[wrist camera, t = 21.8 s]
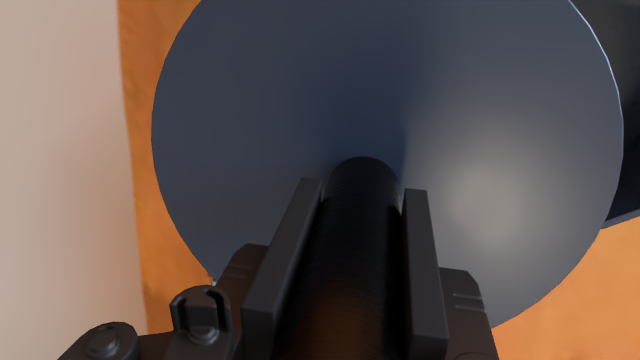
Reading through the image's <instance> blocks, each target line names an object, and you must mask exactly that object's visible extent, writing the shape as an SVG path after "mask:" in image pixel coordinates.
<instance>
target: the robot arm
mask: <svg viewBox="0 0 640 360" xmlns="http://www.w3.org/2000/svg"><path fill="white" fill-rule="evenodd" d="M321 193H322V179H314V178H304V177H302V178H301V180H300V182H299V184H298V186H297V188H296V190H295V192H294V195H293V197H292V199H291V201H290V203H289V205H288V207H287V209H286V211H285V213H284V216H283V218H282V220H281V222H280V224H279V226H278V228H277V230H276V232H275V235H274V237H273V239H272V241H271V243H270V245H269V246H265V245H258V244H250V243H246V244H245V245H244V246H242V247H241V248H240V249H238V250H237V251H236V252H234V254H233V256H232V257H231V259H230V261H229V263H228V265H227V266H226V268H225V269H224V271H223V273H222V276H220V278H219V279H218V281H217V283H216V285H215V286H212V285H200V286H194V287H192V288H189V289H186V290H184V291H183V292H181V293H180V294H178V295H177V296H175V298H174V299H173V300H172V302H171V303H170V304H169V306H170V311H171V317H172V322H173V327H174V330H173V331H170V332H165V333H159V334H151V335H142V336H137V333H136V331H135V329H134V328H133V326H131V325H129V324H127V323H125V322H110V323H106V324H101V325H99V326H97V327H95V328H93V329H90V330H89V331H88V332H86V333H85V334H84V335H82V336H81V337H80V338H79V339H78V340H77V341H76V342H75V343H74V344H73V345H72V346H71V347H70V348H69V349H68V350H67V351H65V352H64V353H63V355H62V356H60V357H59V359H57V360H269V359H270V356H271V353H272V350H273V347H274V344H275V341H276V338H277V335H278V332H279V329H280V326H281V323H282V319H283V316H284V313H285V310H286V307H287V304H288V301H289V298H290V295H291V292H292V289H293V286H294V283H295V280H296V277H297V274H298V271H299V268H300V265H301V262H302V259H303V256H304V253H305V250H306V247H307V244H308V241H309V238H310V235H311V232H312V229H313V226H314V223H315V220H316V217H317V214H318V211H319V208H320V205H321ZM401 247H402V283H403V319H404V356H405V360H499V357H498V353H497V350H496V346H495V343H494V339H493V335H492V332H491V328H490V325H489V321H488V317H487V314H486V313H485V307H484V303H483V301H482V296H481V292H480V289H479V285H478V283H477V282H476V281H475V279H474V278H473V277H472V276H471V275H470V273H469V272H468V271H466V270H459V269H451V268H443V267H439V266H438V260H437V253H436V247H435V240H434V234H433V227H432V221H431V214H430V208H429V201H428V195H427V190H419V189H410V188H405V191H404V198H403V205H402V212H401Z"/></svg>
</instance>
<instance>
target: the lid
mask: <svg viewBox="0 0 640 360" xmlns="http://www.w3.org/2000/svg"><path fill="white" fill-rule="evenodd" d="M151 142H152V151H153V160H154V168H155V172H156V176H157V180H158V184H159V188H160V192H161V194H162V197H163V200H164V202H165V205H166V208H167V210H168V213H169V215H170V217H171V219H172V221H173V223H174V225H175V227H176V229H177V230H178V232H179V234H180V236H181V237H182V239H183V240H184V242H185V243H186V245H187V246H188V248H189V249H190V251H191V252H192V254H193V255H194V256H195V257H196V259H197V260H198V261H199V262H200V263H201V265H202V266H203V267H204V268H205V269H206V271H207V272H208V273H209V274H210V275H211V276H212V277H213V278H214V279H215V280H216V281H218V279H219V278H220V276H222V273H223V271H224V269H225V268H226V266H227V265H228V263H229V261H230V259H231V257H232V256H233V254H234V252H236V251H237V250H238V249H240V248H241V247H242V246H244V245H245V244H246V243H250V244H258V245H265V246H269V245H270V243H271V241H272V239H273V237H274V235H275V232H276V230H277V228H278V226H279V224H280V222H281V220H282V218H283V216H284V213H285V211H286V209H287V207H288V205H289V203H290V201H291V199H292V197H293V195H294V192H295V190H296V188H297V186H298V184H299V182H300V180H301V178H302V177H304V178H314V179H322V193H321V205H320V208H319V211H318V214H317V217H316V220H315V223H314V226H313V229H312V232H311V235H310V238H309V241H308V244H307V247H306V250H305V253H304V256H303V259H302V262H301V265H300V268H299V271H298V274H297V277H296V280H295V283H294V286H293V289H292V292H291V295H290V298H289V301H288V304H287V307H286V310H285V313H284V316H283V319H282V323H281V326H280V329H279V332H278V335H277V338H276V341H275V344H274V347H273V350H272V353H271V356H270V359H269V360H405V356H404V319H403V283H402V247H401V212H402V205H403V198H404V191H405V188H410V189H419V190H427V195H428V201H429V208H430V214H431V221H432V227H433V234H434V240H435V247H436V253H437V260H438V266H439V267H443V268H451V269H459V270H466V271H468V272H469V273H470V275H471V276H472V277H473V278H474V279H475V281H476V282H477V283H478V285H479V289H480V292H481V296H482V301H483V303H484V307H485V313H486V314H487V317H488V321H489V325H490V328H494V327H496V326H498V325H500V324H502V323H504V322H505V321H507V320H509V319H511V318H513V317H515V316H517V315H519V314H520V313H522V312H523V311H525V310H526V309H528V308H529V307H531V306H532V305H534V304H535V303H537V302H538V301H540V300H541V299H542V298H543V297H544V296H546V295H547V294H548V293H549V292H550V291H551V290H553V289H554V288H555V287H556V286H557V285H559V284H560V283H561V282H562V280H563V279H564V278H565V277H566V276H567V275H568V274H569V273H570V272H571V271H572V270H573V269H574V268H575V266H576V265H577V264H578V263H579V262H580V260H581V259H582V257H583V256H584V255H585V253H586V252H587V250H588V249H589V248H590V246H591V245H592V243H593V242H594V241H595V239H596V237H597V235H598V233H599V231H600V229H601V227H602V225H603V223H604V221H605V219H606V217H607V215H608V213H609V210H610V207H611V204H612V201H613V198H614V196H615V193H616V190H617V187H618V182H619V176H620V170H621V165H622V159H623V117H622V110H621V104H620V98H619V91H618V88H617V85H616V82H615V79H614V76H613V73H612V70H611V67H610V64H609V61H608V58H607V56H606V54H605V52H604V50H603V48H602V47H601V45H600V43H599V41H598V39H597V37H596V35H595V34H594V32H593V30H592V28H591V26H590V25H589V23H588V22H587V21H586V20H585V18H584V17H583V16H582V15H581V13H580V12H579V11H578V9H577V8H576V7H575V6H574V4H573V3H572V2H571V1H570V0H202V1H201V2H200V3H199V4H198V5H197V6H196V7H195V9H194V10H193V12H192V13H191V14H190V16H189V17H188V19H187V20H186V22H185V23H184V25H183V26H182V28H181V29H180V31H179V32H178V34H177V36H176V38H175V40H174V42H173V44H172V46H171V48H170V51H169V53H168V55H167V57H166V59H165V61H164V65H163V68H162V71H161V74H160V77H159V81H158V84H157V87H156V93H155V99H154V105H153V111H152V135H151Z"/></svg>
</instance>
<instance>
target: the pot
mask: <svg viewBox="0 0 640 360" xmlns="http://www.w3.org/2000/svg"><path fill="white" fill-rule="evenodd" d="M570 1H571V2H572V3H573V4H574V6H575V7H576V8H577V9H578V11H579V12H580V13H581V15H582V16H583V17H584V18H585V20H586V21H587V22H588V23H589V25H590V26H591V28H592V30H593V32H594V34H595V35H596V37H597V39H598V41H599V43H600V45H601V47H602V48H603V50H604V52H605V54H606V56H607V58H608V61H609V64H610V67H611V70H612V73H613V76H614V79H615V82H616V85H617V88H618V91H619V98H620V104H621V110H622V117H623V159H622V165H621V170H620V176H619V182H618V187H617V190H616V193H615V196H614V198H613V201H612V204H611V207H610V210H609V213H608V215H607V217H606V219H605V221H604V223H603V225H602V227H601V229H603V228H607V227H610V226H613V225H616V224H619V223H621V222H624V221H627V220H630V219H633V218H636V217H638V216H640V0H570Z"/></svg>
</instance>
